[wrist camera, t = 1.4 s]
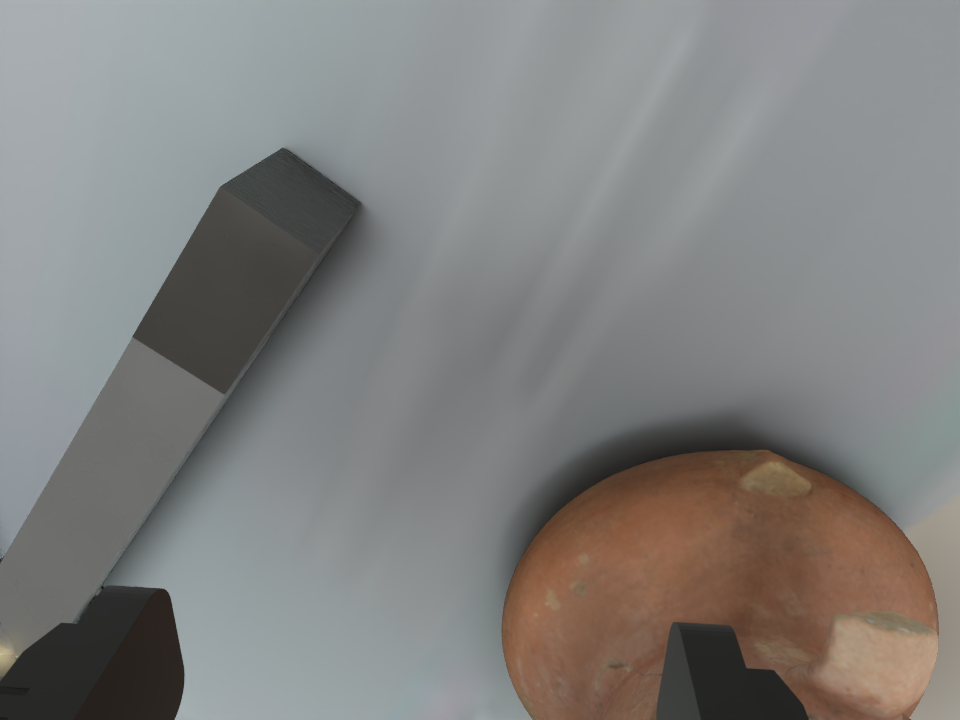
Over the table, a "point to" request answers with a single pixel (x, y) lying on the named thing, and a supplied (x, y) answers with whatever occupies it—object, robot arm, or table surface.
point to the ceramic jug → (720, 590)
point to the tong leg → (168, 388)
